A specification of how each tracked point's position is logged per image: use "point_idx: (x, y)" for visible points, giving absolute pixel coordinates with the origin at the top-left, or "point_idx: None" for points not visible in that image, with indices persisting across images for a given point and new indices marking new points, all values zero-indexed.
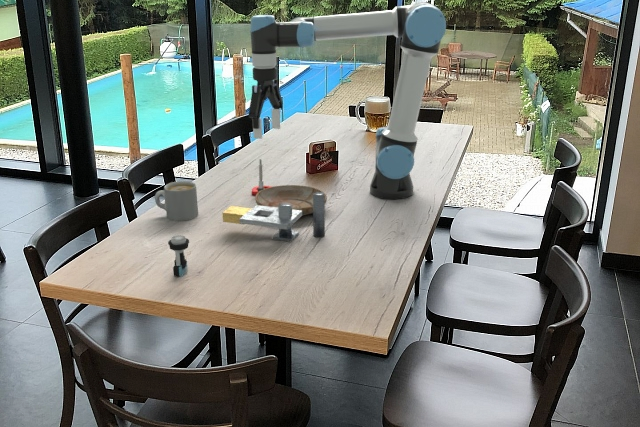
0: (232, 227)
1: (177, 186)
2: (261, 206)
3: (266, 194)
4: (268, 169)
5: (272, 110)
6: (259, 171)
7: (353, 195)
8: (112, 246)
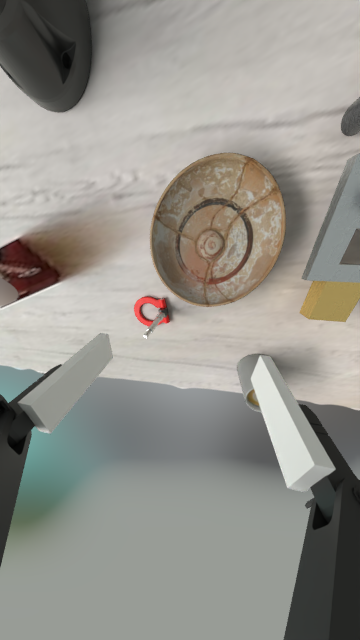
0: (297, 304)
1: (254, 400)
2: (316, 268)
3: (192, 296)
4: (78, 331)
5: (55, 420)
6: (155, 327)
7: (106, 145)
8: (354, 397)
